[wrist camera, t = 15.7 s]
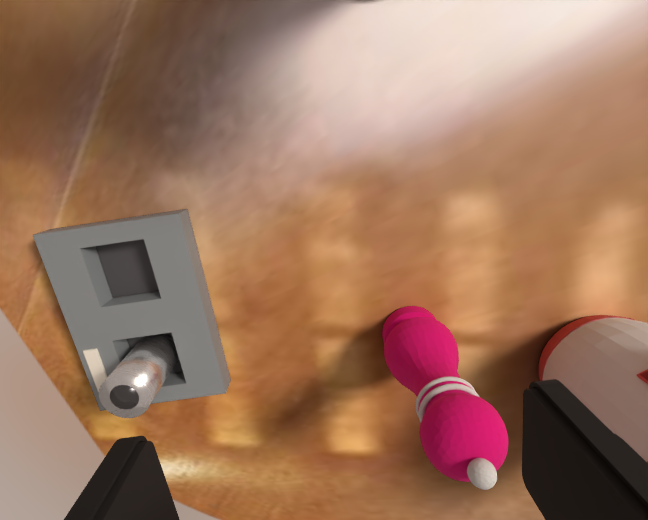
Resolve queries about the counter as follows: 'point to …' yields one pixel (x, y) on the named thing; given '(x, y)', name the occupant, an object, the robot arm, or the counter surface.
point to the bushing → (139, 376)
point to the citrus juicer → (605, 372)
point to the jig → (137, 298)
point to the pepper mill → (444, 399)
